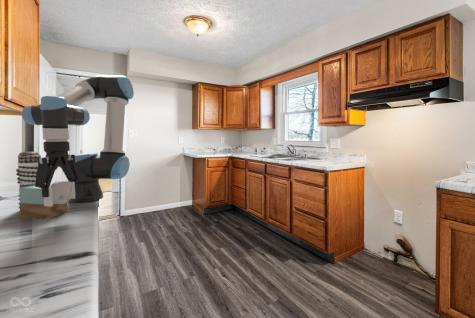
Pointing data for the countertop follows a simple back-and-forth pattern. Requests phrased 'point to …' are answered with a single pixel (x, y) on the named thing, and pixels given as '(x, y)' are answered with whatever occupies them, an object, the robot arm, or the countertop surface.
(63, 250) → the countertop surface
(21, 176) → the decorative candle
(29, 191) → the tower top
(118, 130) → the robot arm
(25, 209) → the tower base
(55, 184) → the die
